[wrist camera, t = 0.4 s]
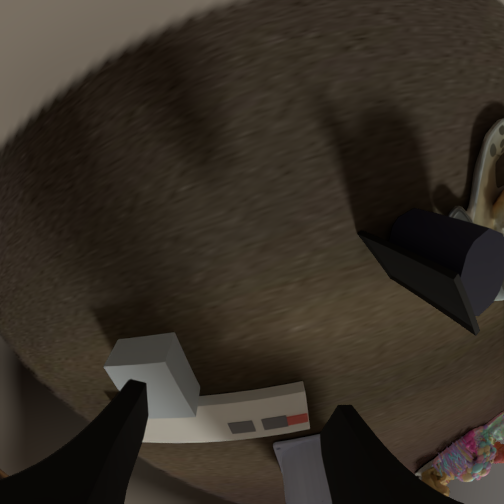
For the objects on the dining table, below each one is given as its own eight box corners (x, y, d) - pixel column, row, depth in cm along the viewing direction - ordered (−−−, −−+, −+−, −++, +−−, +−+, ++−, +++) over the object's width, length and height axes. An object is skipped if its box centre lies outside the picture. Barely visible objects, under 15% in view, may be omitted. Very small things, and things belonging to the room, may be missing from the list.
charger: (207, 399, 23) (204, 430, 20) (157, 403, 23) (150, 431, 20) (175, 330, 20) (165, 362, 17) (118, 337, 20) (103, 366, 17)
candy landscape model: (421, 487, 40) (431, 515, 32) (397, 472, 34) (411, 512, 25) (507, 426, 35) (523, 451, 27) (514, 388, 29) (538, 421, 20)
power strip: (308, 419, 24) (310, 430, 23) (139, 433, 25) (136, 443, 24) (302, 380, 22) (305, 392, 21) (112, 398, 23) (108, 409, 22)
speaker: (373, 294, 19) (449, 364, 11) (356, 231, 18) (447, 280, 9) (439, 256, 19) (523, 301, 11) (428, 196, 18) (525, 220, 9)
